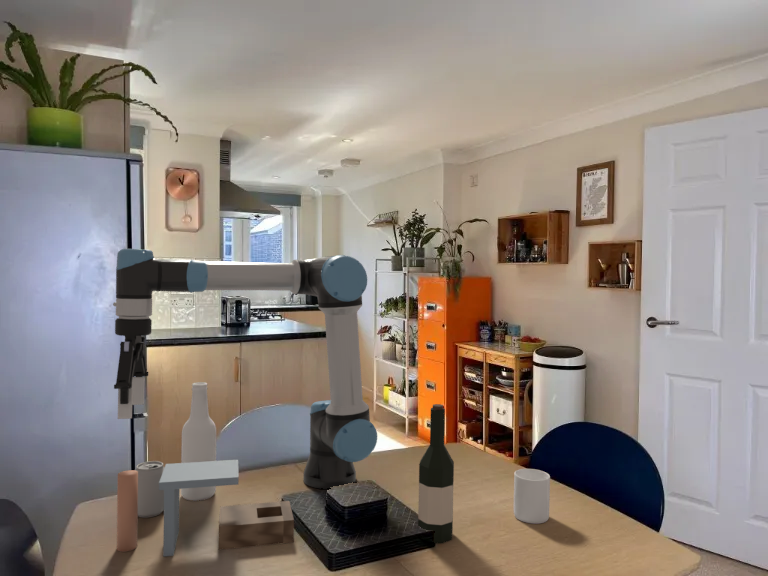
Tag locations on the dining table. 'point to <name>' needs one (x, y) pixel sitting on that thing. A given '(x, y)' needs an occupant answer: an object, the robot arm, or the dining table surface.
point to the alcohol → (198, 439)
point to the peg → (127, 510)
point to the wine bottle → (436, 482)
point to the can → (150, 489)
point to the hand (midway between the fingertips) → (131, 411)
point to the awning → (190, 477)
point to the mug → (531, 495)
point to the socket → (255, 525)
